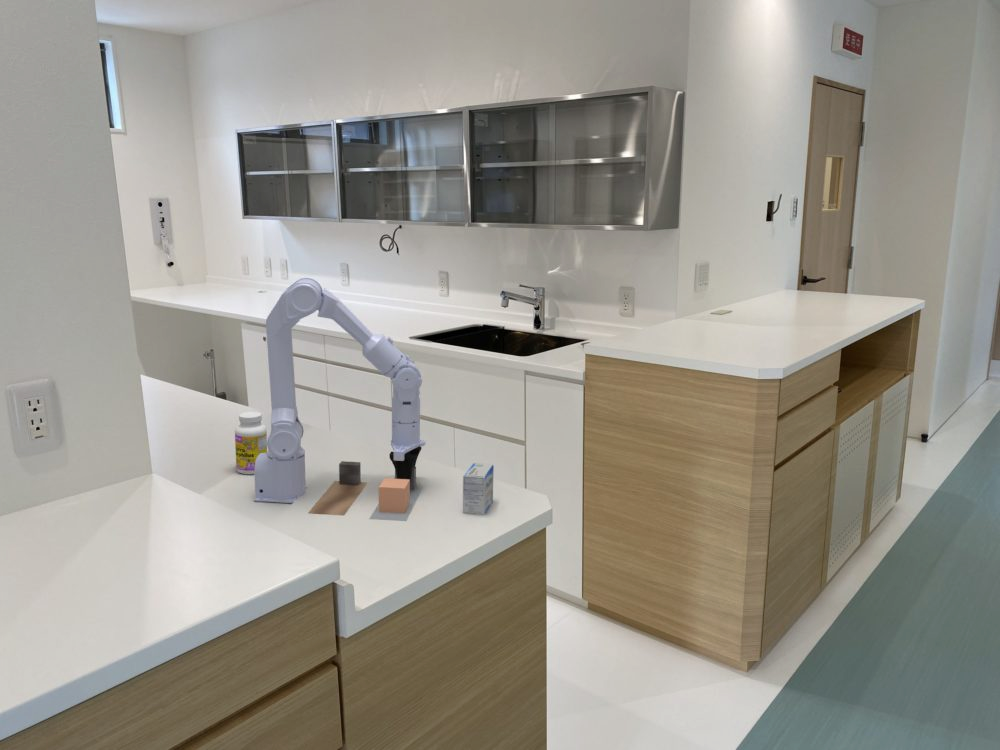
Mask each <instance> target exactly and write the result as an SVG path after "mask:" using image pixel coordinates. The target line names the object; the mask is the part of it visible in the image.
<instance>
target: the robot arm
mask: <svg viewBox="0 0 1000 750" xmlns="http://www.w3.org/2000/svg"><path fill="white" fill-rule="evenodd" d="M317 311H318V313H317V317H319V318H324V319H330V320H332V321H334V322H335V323H336V324H337V325H338V326H340V327H341V328H342V329H343V330H344V331H345V332H346V333H348V334H349V336H351V337H352V338H353V339H354V340H355V341H356V342H358V343H359V345H361V346H362V351H361V352H362V353H361V354H362V356H363V357H364V358H365V359H366V360H367V361H368V362H369V363H371V364H372V365H373V366H374V368H376V370H378V371H379V372H380V373H381V374H382V375H383V376H384V377H386V378H389V379H391V384H392V397H391V440H390V446H391V448H392V450H393V451H390V453H389V455H388V456H389V459H390V461H391V463H392V465H393V468H394V471H395V470H396V474H397V479H409V480H410V482H411V476H412V470H413V467H416V464H417V460H418V458H419V455H420V454H421V453H420V452H421V450H422V448H423V447H424V446H425V445H426V440H424V439H423V440H422V439H421V432H420V431H421V398H420V395H421V391H420V388H421V386H422V383H423V378H422V375H421V372H420V369H419V367H418V366H417V365H416V363H415V362H414V361H413V360H412V359H411V357H410V356H409V354H408V353H407V354H404V353H403V352H401V350H400V349H399V348H398V347H397V346H395V344H393V343H394V340H393V339H392V338H391V337H390V336H387V337H386V336H385V334H379V333H378V334H376V333H372V332H371V331H370V329H368V327H367V326H366V325H365V324H364V323H363V322H362V321H361V320H360V319H359V318H358V317H357V316H356V315H355V314H354V313H353V312H352V311H351V310H350V309H349V307H347V306H346V305H345V303H343V301H341V300H340V298H338V297H337V296H336V295H334V293H332V292H331V291H329V290H328V289H327V288H325V287H324V288H323V287H322V286H321V284H320V283H319V282H318V281H317V280H315V279H314V278H310V277H302V278H299V279H297V280H296V281H295V282H293V283H292V284H290V285H289V287H287V288H286V289H285V290H284V291H283V292H282V294H280V297H279V298H278V300H277V301H276V303H275V305H274V306H273V308H272V309H271V311H270V312H269V314H268V315H267V317H266V321H265V329H266V345H267V358H268V372H269V374H268V375H269V385H270V386H269V388H270V391H269V392H270V403H271V415H270V416H271V417H270V418H271V419H270V432H269V435H268V436H267V453H260V454H259V455H258V457H257V459H256V462H255V469H254V474H253V475H254V493H255V494H254V496H255V497H254V499H253V501H254V502H263V503H264V502H265V503H266V502H267V503H282V504H283V503H284V504H294V503H295V502H296V500H297V499H298V498H299V497H302V496H303V495H305V493H307V492H306V489H307V488H308V487H306V484H307V483H306V453H305V452H306V451H305V449H304V448H303V447H302V443H301V441H302V438H303V436H304V433H305V432H304V426H303V424H302V422H301V420H300V419H299V415H298V407H297V401H296V399H297V398H296V381H295V369H294V368H295V367H294V365H295V363H294V351H293V350H294V348H293V347H294V346H293V334H292V333H293V332H292V329H293V328H294V326H296V325H297V324H298V323H299V322H300V321H301V320H302V319H304V318H306V317H308V316H310V315H312V314H315V313H316V312H317Z"/></svg>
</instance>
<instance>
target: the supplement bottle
mask: <svg viewBox="0 0 1000 750" xmlns="http://www.w3.org/2000/svg"><path fill="white" fill-rule="evenodd" d="M238 420H239V423H240V424H239V425H237V426H236V427H235V429H234V442H235V443H234V445H235V446H234V447H235V467H236V468H235V470H236V472H238V473H239V474H241V475H242V474H243V475H255V474H254V469H255V462H256V459H257V457H258V455H259V454H260V453H267V452H268V447H267V440H268V434H267V433H268V432H267V427H266V426H265V424H263V423H262V420H263V417H262V413H261V412H258V411H247V412H246V411H245V412H242V413H240V414H239V415H238Z"/></svg>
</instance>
